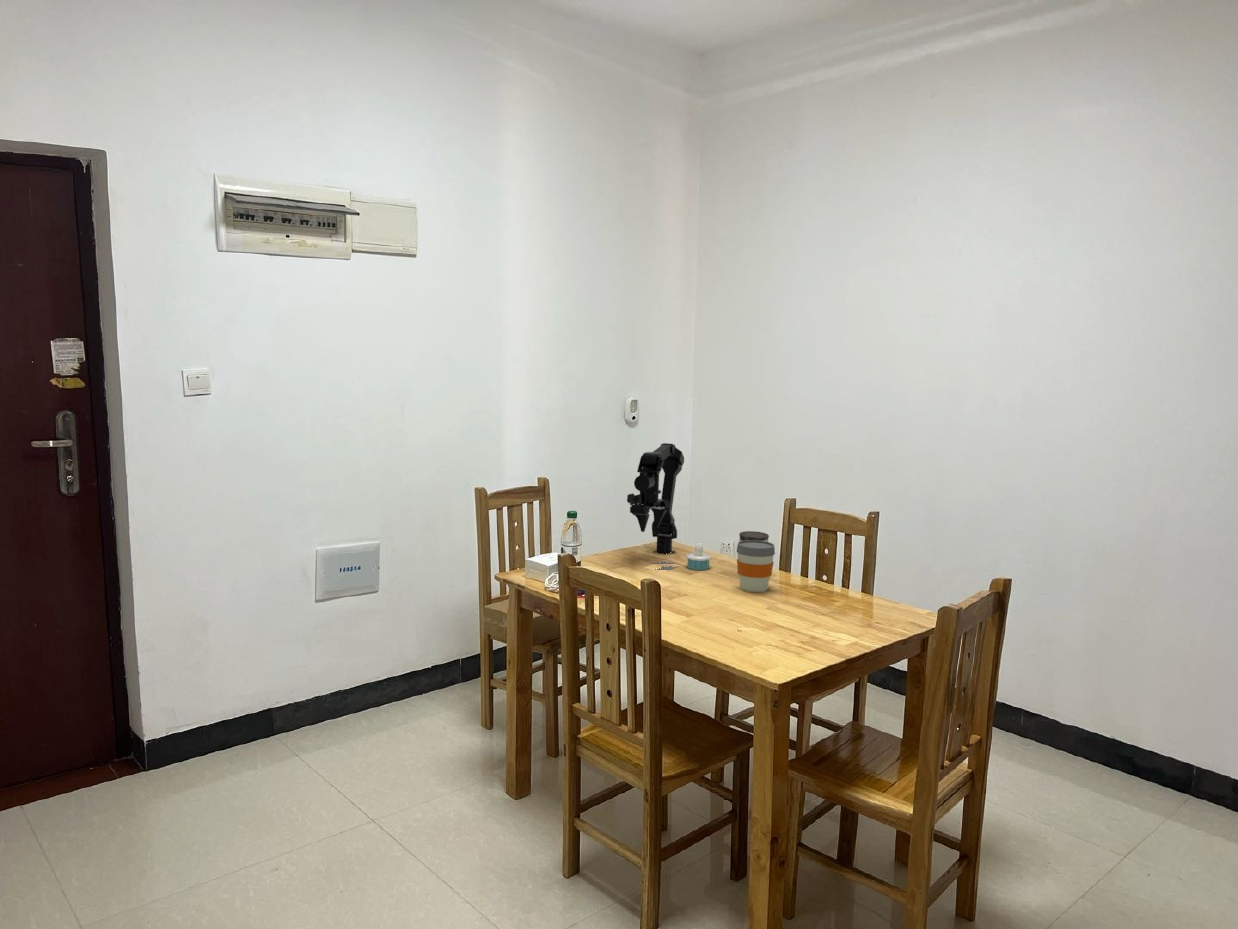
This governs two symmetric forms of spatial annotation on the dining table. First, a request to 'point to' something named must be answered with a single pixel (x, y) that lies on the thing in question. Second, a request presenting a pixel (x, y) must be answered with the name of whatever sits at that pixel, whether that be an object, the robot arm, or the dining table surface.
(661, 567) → the mat
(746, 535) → the coffee can
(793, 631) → the dining table surface
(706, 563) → the bowl
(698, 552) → the lid
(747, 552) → the reusable coffee cup
